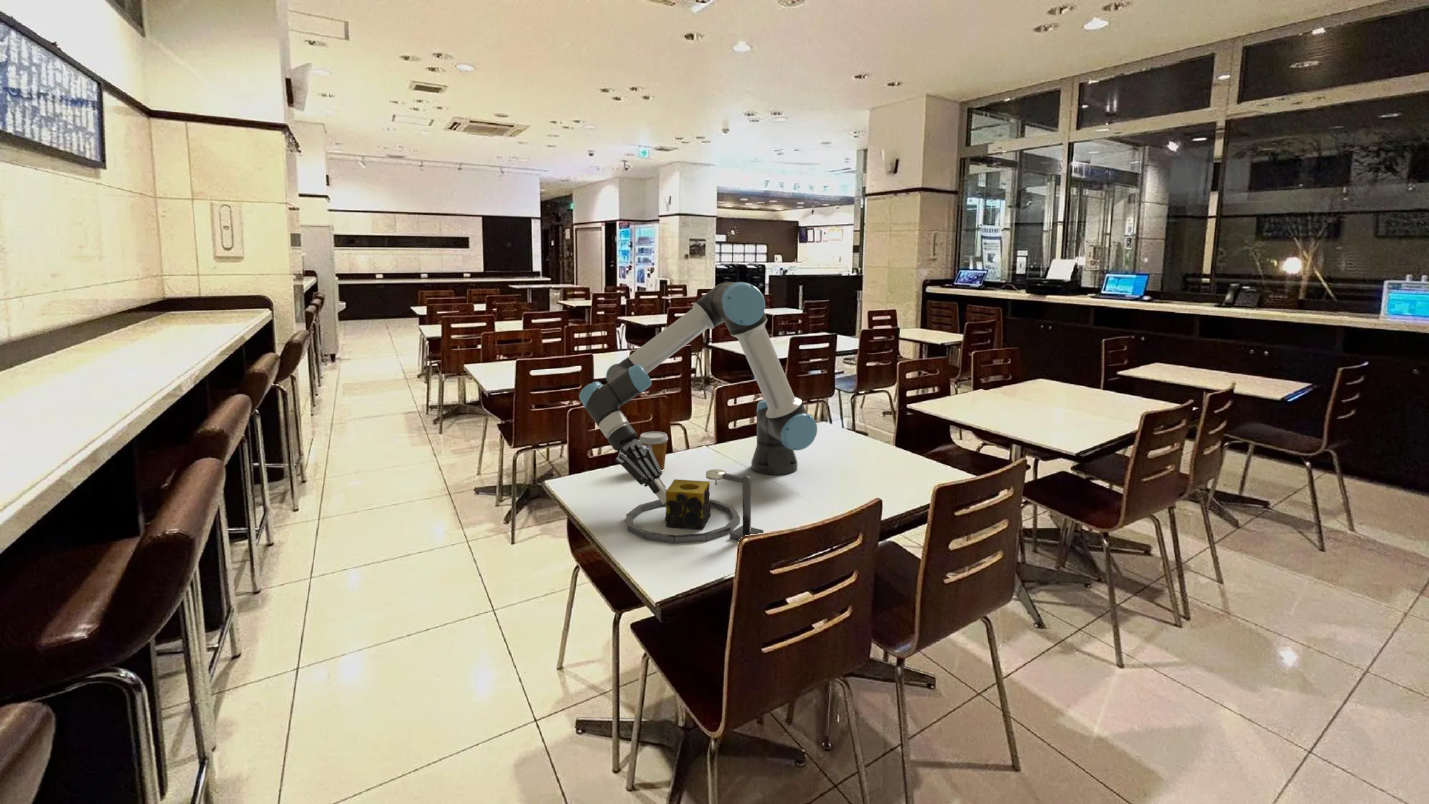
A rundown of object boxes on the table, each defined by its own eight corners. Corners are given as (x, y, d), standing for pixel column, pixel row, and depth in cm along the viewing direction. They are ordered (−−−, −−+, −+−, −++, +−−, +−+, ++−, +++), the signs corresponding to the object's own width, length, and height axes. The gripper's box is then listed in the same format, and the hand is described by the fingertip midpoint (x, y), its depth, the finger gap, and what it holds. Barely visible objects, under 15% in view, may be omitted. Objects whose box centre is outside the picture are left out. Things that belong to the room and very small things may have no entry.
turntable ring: (726, 499, 196) (726, 494, 196) (749, 537, 168) (749, 532, 168) (624, 506, 191) (624, 501, 191) (630, 547, 163) (630, 541, 163)
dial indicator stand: (763, 535, 170) (763, 475, 167) (750, 543, 165) (750, 481, 162) (715, 524, 178) (714, 466, 175) (701, 531, 173) (700, 472, 170)
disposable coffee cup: (671, 466, 230) (670, 431, 228) (666, 474, 221) (665, 438, 218) (643, 465, 231) (642, 431, 229) (637, 474, 222) (636, 438, 219)
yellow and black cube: (674, 514, 185) (673, 478, 183) (711, 516, 183) (710, 480, 182) (664, 528, 176) (663, 490, 174) (703, 530, 174) (702, 492, 172)
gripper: (627, 435, 195) (675, 502, 189) (595, 444, 185) (644, 515, 179) (641, 419, 191) (690, 486, 185) (608, 428, 181) (659, 500, 175)
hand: (667, 501), depth 182 cm, fingers closed
